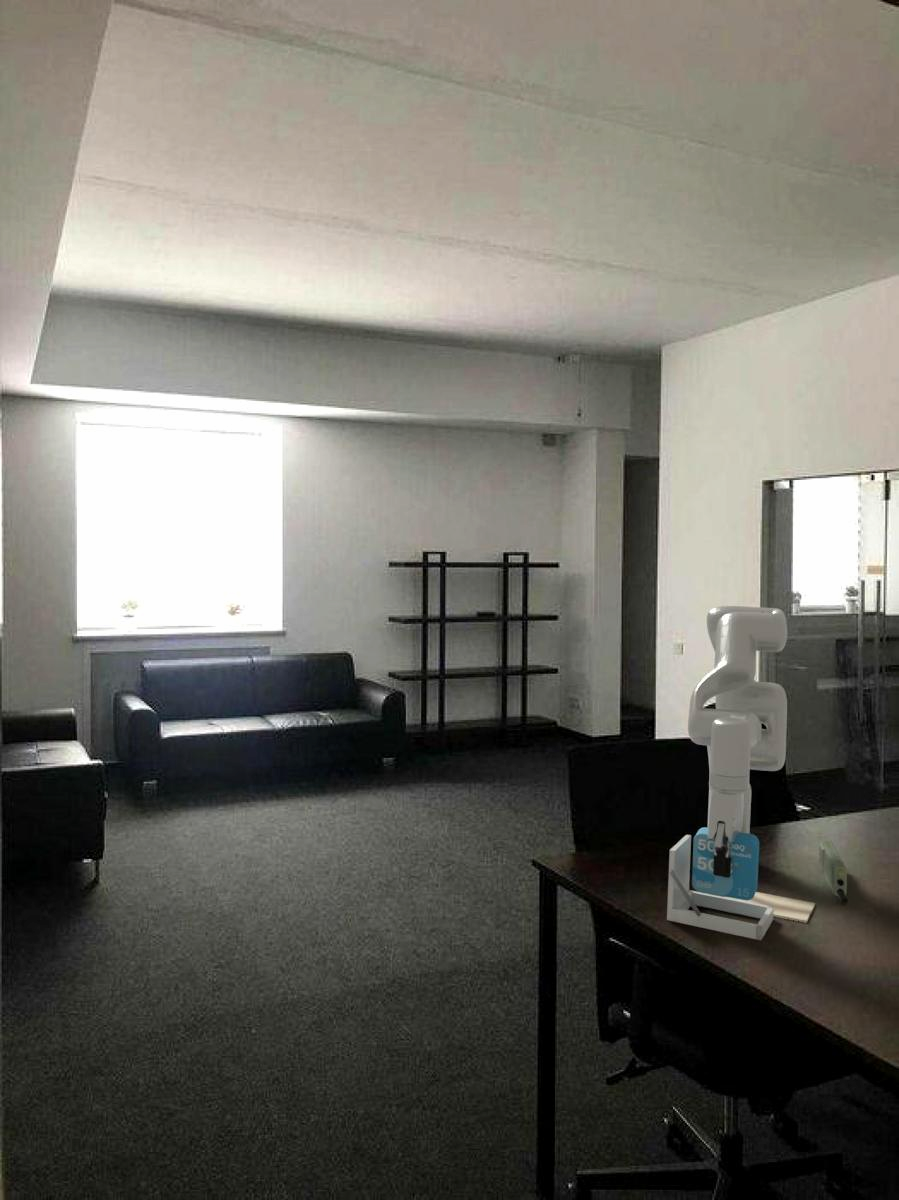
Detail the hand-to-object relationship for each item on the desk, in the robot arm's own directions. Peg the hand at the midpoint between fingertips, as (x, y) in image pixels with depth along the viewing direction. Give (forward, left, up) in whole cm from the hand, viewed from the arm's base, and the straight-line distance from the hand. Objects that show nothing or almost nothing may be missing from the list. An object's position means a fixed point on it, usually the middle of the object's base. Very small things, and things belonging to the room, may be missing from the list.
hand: (725, 870), depth 190 cm
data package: (0, 0, -5) cm, 5 cm away
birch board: (-12, +6, -10) cm, 17 cm away
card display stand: (+1, 0, -10) cm, 10 cm away
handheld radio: (-33, +16, -10) cm, 38 cm away
